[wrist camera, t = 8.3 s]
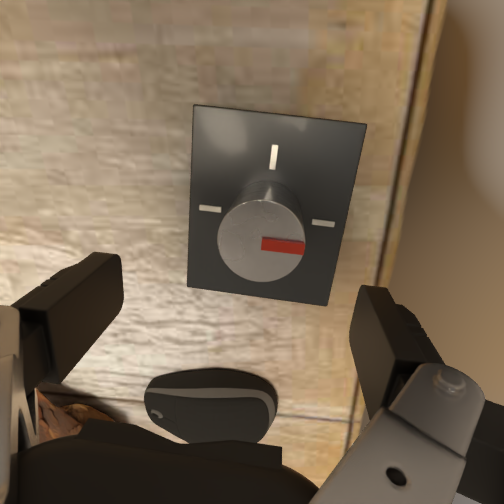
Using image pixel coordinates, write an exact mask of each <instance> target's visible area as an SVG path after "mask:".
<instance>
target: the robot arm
mask: <svg viewBox="0 0 504 504" xmlns="http://www.w3.org/2000/svg"><path fill="white" fill-rule="evenodd" d="M123 300H124V291H123V277H122V264H121V258H120V256H119V255H117V254H110V253H102V252H93V253H92V254H90V255H89V256H88V257H86V258H85V259H84V260H82V261H81V262H79V263H78V264H75V265H73V266H70V267H67V268H65V269H62V270H60V271H59V272H57V273H56V274H55V275H53V276H52V277H50V280H49V279H48V280H46V281H45V282H43V283H42V284H41V286H38V287H36V288H35V289H33V290H32V291H30V292H29V293H28V294H26V295H25V296H23V297H22V298H21V299H19V300H18V301H16V302H15V303H13V304H12V305H11V306H5V305H0V504H452V502H453V499H454V496H455V493H456V492H457V493H460V494H462V495H464V496H466V497H468V498H470V499H473V500H475V501H477V502H479V503H482V504H504V406H502V405H499V404H496V403H493V402H491V401H488V400H486V399H485V396H484V393H483V391H482V390H481V388H480V387H479V386H478V384H477V383H476V382H475V381H473V380H472V379H471V378H470V377H469V376H467V375H466V374H464V373H463V372H460V371H459V370H457V369H454V368H452V367H450V366H447V365H445V363H444V362H443V360H442V358H441V357H440V355H439V354H438V352H437V350H436V349H435V347H434V346H433V344H432V343H431V341H430V339H429V337H427V334H426V333H425V331H424V329H423V328H421V325H420V323H419V321H418V320H417V318H416V317H415V315H414V314H413V313H412V312H410V311H409V310H408V309H407V308H405V307H404V306H403V305H399V304H395V302H394V300H393V298H392V297H391V295H390V293H389V291H388V289H387V288H385V287H376V286H368V285H361V287H360V289H359V292H358V296H357V300H356V304H355V308H354V312H353V316H352V321H351V325H350V331H349V342H350V347H351V351H352V354H353V358H354V362H355V366H356V370H357V373H358V377H359V381H360V385H361V389H362V392H363V396H364V400H365V404H366V408H367V411H368V415H369V419H370V422H369V423H368V424H367V426H366V427H365V428H364V430H363V431H362V432H361V434H360V435H359V436H358V438H357V439H356V440H355V442H354V443H353V444H352V446H351V447H350V448H349V450H348V451H347V452H346V454H345V455H344V456H343V458H342V459H341V460H340V462H339V463H338V465H337V466H336V467H335V469H334V470H333V471H332V473H331V474H330V475H329V477H328V478H327V479H326V481H325V482H324V483H323V485H322V486H321V487H320V489H319V488H318V487H317V486H316V485H315V484H313V483H312V482H311V481H310V480H308V479H307V478H306V477H304V476H303V475H301V474H300V473H298V472H296V471H294V470H293V469H291V468H289V467H287V466H284V465H282V447H279V446H272V445H265V444H259V443H252V442H246V441H239V440H224V441H212V442H201V443H190V444H179V443H176V442H173V441H171V440H169V439H166V438H164V437H162V436H159V435H157V434H155V433H153V432H150V431H148V430H146V429H143V428H141V427H139V426H137V425H133V424H126V423H120V422H113V421H107V420H100V419H93V418H88V420H87V421H86V423H85V424H84V426H83V427H82V429H81V430H80V432H79V433H78V434H76V435H69V436H64V437H59V438H55V439H52V440H48V441H45V442H43V443H40V438H39V419H38V399H37V392H36V387H37V386H38V384H39V383H40V382H41V381H42V382H49V383H56V384H60V383H61V382H62V381H63V380H64V379H65V377H66V376H67V375H68V374H69V373H70V371H71V370H72V369H73V368H74V367H75V365H76V364H77V363H78V362H79V361H80V359H81V358H82V357H83V356H84V355H85V353H86V352H87V351H88V350H89V349H90V347H91V346H92V345H93V344H94V343H95V341H96V340H97V339H98V338H99V337H100V335H101V334H102V333H103V332H104V331H105V329H106V328H107V327H108V326H109V325H110V323H111V322H112V321H113V320H114V319H115V317H116V316H117V315H118V314H119V312H120V310H121V308H122V305H123Z"/></svg>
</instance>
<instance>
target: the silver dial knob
mask: <svg viewBox="0 0 504 504" xmlns="http://www.w3.org/2000/svg"><path fill="white" fill-rule="evenodd" d="M217 243H218V249H219V252H220V255H221V257H222V259H223V261H224V262H225V264H226V265H227V266H228V267H229V268H230V269H231V270H232V271H233V272H234V273H236V274H237V275H239V276H240V277H243V278H245V279H247V280H251V281H256V282H269V281H274V280H277V279H280V278H282V277H284V276H286V275H287V274H289V273H290V272H291V271H292V270H293V269H294V268H295V267H296V266H297V265H298V264H299V262H300V260H301V258H302V256H303V255H304V250H305V233H304V226H303V219H302V212H301V207H300V204H299V201H298V199H297V197H296V196H295V195H294V193H293V192H292V191H291V190H290V189H289V188H287V187H286V186H284V185H282V184H280V183H277V182H273V181H259V182H255V183H253V184H251V185H249V186H247V187H246V188H244V189H243V190H242V191H241V192H240V193H239V194H238V196H237V197H236V199H235V201H234V202H233V204H232V206H231V207H230V209H229V210H228V212H227V214H226V215H225V217H224V219H223V220H222V222H221V224H220V227H219V230H218V236H217Z"/></svg>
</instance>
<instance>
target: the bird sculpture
mask: <svg viewBox="0 0 504 504" xmlns="http://www.w3.org/2000/svg"><path fill="white" fill-rule="evenodd" d="M36 392H37V399H38V419H39V438H40V443H43V442H45V441H48V440H52V439H55V438H59V437H64V436H69V435H76V434H78V433H79V432H80V430H81V429H82V427H83V426H84V424H85V423H86V421H87V420H88V418H93V419H100V420H107V421H113V422H114V420H113V419H112V418H110V417H109V416H107V415H106V414H104V413H101V412H99V411H97V410H96V409H94V408H92V407H91V406H87V405H84V404H73V405H71V404H70V405H68V406H67V405H66V406H62V407H61V408H60V407H56V406H55V405H53V404H52V403H51V402H50V401H49V400H48V399H47V398H46V397H45V396H44V395H43V394H41V393H40V392H39V391H38V390H37V388H36Z"/></svg>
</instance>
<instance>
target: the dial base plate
mask: <svg viewBox="0 0 504 504" xmlns="http://www.w3.org/2000/svg"><path fill="white" fill-rule="evenodd" d="M366 129H367V124H365V123H356V122H347V121H338V120H330V119H321V118H312V117H303V116H294V115H286V114H277V113H268V112H259V111H250V110H242V109H233V108H224V107H215V106H206V105H198V104H194V105H193V125H192V153H191V182H190V210H189V239H188V267H187V287H192V288H199V289H206V290H213V291H220V292H227V293H234V294H241V295H248V296H256V297H263V298H270V299H277V300H284V301H291V302H298V303H305V304H312V305H319V306H327V305H328V300H329V296H330V291H331V287H332V282H333V278H334V273H335V269H336V264H337V260H338V255H339V251H340V246H341V242H342V237H343V233H344V228H345V223H346V219H347V214H348V210H349V205H350V201H351V196H352V192H353V187H354V183H355V178H356V174H357V169H358V165H359V160H360V156H361V151H362V147H363V142H364V138H365V133H366ZM259 181H273V182H277V183H280V184H282V185H284V186H286V187H287V188H289V189H290V190H291V191H292V192H293V193H294V195H295V196H296V197H297V199H298V201H299V204H300V207H301V212H302V219H303V226H304V233H305V250H304V255H303V256H302V258H301V260H300V262H299V264H298V265H297V266H296V267H295V268H294V269H293V270H292V271H291V272H290V273H289V274H287V275H286V276H284V277H282V278H280V279H277V280H274V281H269V282H256V281H251V280H247V279H245V278H243V277H240V276H239V275H237V274H236V273H234V272H233V271H232V270H231V269H230V268H229V267H228V266H227V265H226V264H225V262H224V261H223V259H222V257H221V255H220V252H219V249H218V243H217V236H218V230H219V227H220V224H221V222H222V220H223V219H224V217H225V215H226V214H227V212H228V210H229V209H230V207H231V206H232V204H233V202H234V201H235V199H236V197H237V196H238V194H239V193H240V192H241V191H242V190H243V189H244V188H246V187H247V186H249V185H251V184H253V183H255V182H259Z"/></svg>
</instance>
